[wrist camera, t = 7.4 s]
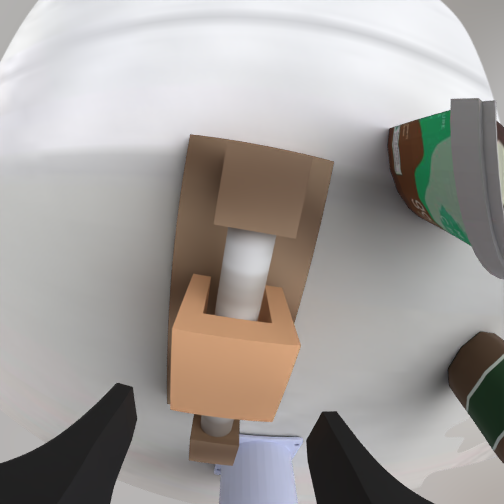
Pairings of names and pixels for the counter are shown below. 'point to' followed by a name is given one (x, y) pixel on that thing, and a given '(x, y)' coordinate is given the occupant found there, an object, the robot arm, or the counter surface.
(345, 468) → the robot arm
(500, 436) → the beer bottle
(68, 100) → the counter surface
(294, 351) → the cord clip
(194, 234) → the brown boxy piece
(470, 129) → the food container
